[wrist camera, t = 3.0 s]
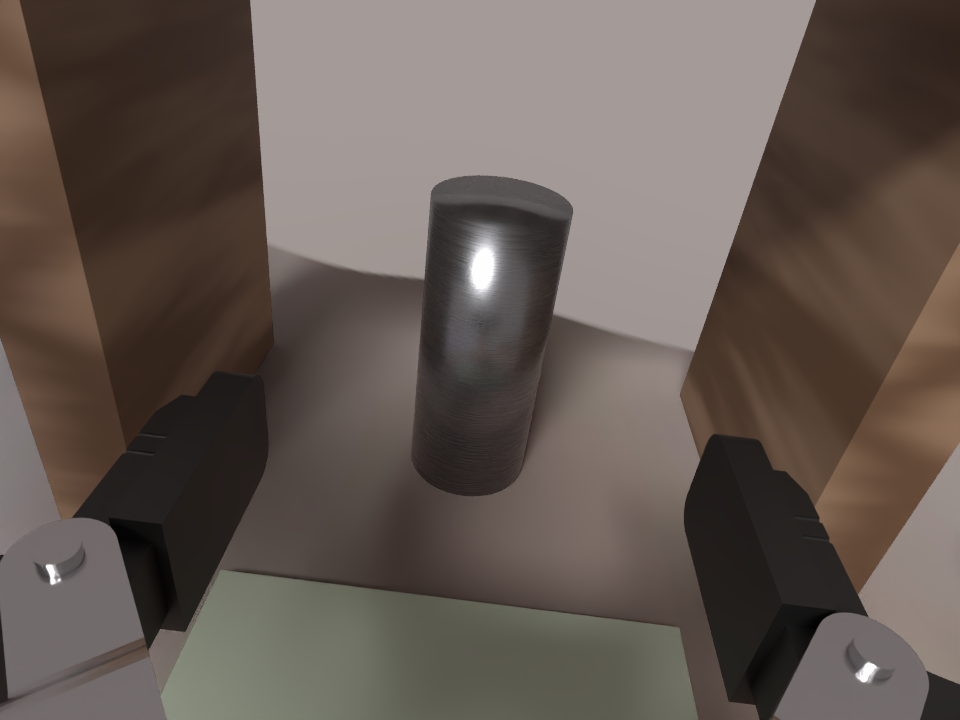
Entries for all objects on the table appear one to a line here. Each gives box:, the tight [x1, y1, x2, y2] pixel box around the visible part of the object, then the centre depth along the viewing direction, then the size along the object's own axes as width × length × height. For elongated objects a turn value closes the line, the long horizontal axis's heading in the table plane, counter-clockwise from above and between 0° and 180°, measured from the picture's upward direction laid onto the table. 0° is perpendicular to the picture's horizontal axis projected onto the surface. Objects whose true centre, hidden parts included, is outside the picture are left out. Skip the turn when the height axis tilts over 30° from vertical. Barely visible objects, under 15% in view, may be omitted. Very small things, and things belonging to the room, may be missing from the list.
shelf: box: [0, 0, 960, 595], centre depth 24 cm, size 28×16×22 cm, turn 86°
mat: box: [160, 570, 699, 720], centre depth 20 cm, size 16×8×1 cm, turn 86°
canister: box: [411, 176, 573, 496], centre depth 27 cm, size 5×5×12 cm
